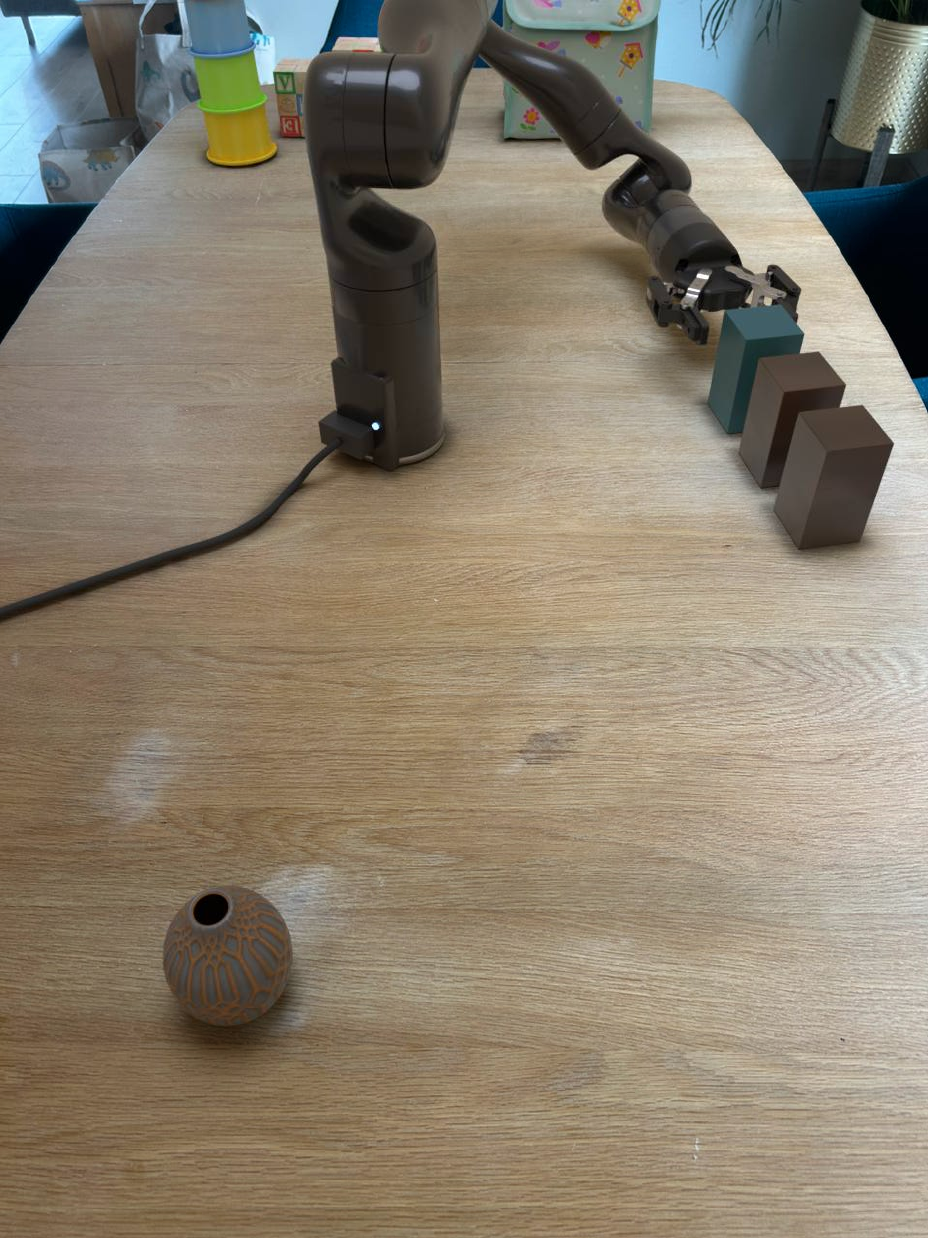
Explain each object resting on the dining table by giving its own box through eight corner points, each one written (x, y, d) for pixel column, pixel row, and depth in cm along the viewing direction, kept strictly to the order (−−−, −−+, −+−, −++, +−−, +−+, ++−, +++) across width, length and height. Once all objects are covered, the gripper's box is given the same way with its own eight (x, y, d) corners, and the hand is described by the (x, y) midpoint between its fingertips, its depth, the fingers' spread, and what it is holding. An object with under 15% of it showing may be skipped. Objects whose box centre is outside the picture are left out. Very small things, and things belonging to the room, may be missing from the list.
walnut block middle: (818, 481, 90) (846, 384, 83) (760, 488, 90) (783, 391, 82) (793, 446, 94) (819, 350, 87) (738, 452, 93) (758, 357, 86)
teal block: (781, 427, 96) (804, 333, 89) (726, 434, 95) (746, 339, 88) (760, 396, 100) (781, 303, 93) (707, 402, 99) (724, 309, 92)
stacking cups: (195, 165, 144) (136, -131, 120) (223, 139, 152) (172, -145, 127) (262, 170, 143) (216, -129, 118) (287, 144, 150) (248, -144, 125)
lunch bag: (496, 146, 148) (498, -71, 129) (498, 107, 159) (500, -97, 140) (652, 146, 147) (677, -73, 128) (643, 107, 158) (665, -99, 139)
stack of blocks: (280, 137, 152) (268, 47, 143) (290, 123, 156) (278, 34, 147) (420, 140, 150) (416, 49, 141) (425, 125, 154) (422, 36, 146)
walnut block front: (860, 541, 84) (894, 443, 77) (798, 549, 84) (827, 451, 77) (832, 501, 88) (862, 404, 81) (773, 509, 87) (798, 411, 80)
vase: (185, 934, 60) (151, 856, 54) (301, 923, 60) (279, 844, 54) (172, 1050, 55) (133, 978, 49) (298, 1037, 56) (274, 965, 49)
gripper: (630, 226, 102) (681, 302, 91) (763, 214, 104) (829, 287, 92) (623, 295, 107) (670, 375, 96) (749, 283, 109) (810, 359, 98)
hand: (748, 332), depth 94 cm, fingers open, 8 cm apart
